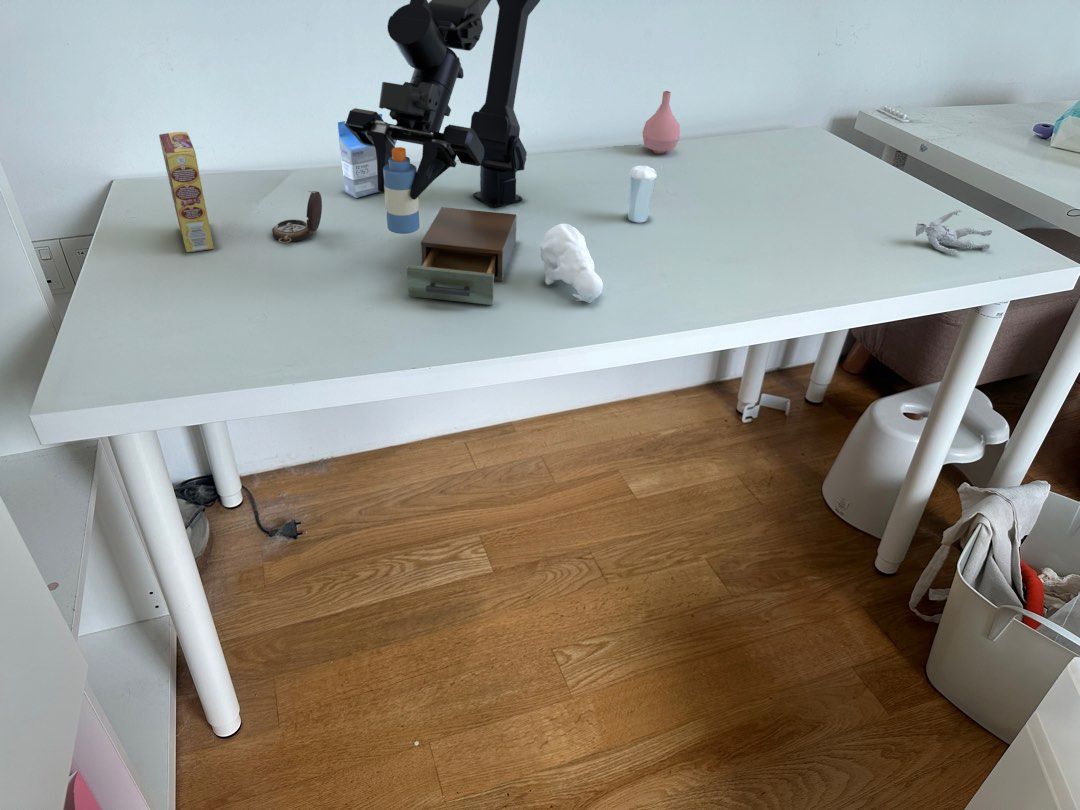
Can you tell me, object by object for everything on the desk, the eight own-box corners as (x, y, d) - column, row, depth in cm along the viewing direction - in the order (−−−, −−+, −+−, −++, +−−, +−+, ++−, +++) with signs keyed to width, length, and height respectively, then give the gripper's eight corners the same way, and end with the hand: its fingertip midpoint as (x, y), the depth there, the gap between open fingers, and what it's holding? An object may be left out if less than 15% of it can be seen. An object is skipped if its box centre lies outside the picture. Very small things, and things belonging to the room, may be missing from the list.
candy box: (216, 249, 121) (195, 150, 111) (186, 253, 119) (162, 153, 110) (208, 226, 127) (187, 130, 118) (180, 230, 125) (156, 133, 116)
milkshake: (654, 226, 135) (662, 169, 129) (622, 222, 135) (629, 165, 129) (656, 216, 138) (664, 159, 132) (626, 212, 139) (632, 156, 133)
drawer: (431, 255, 122) (429, 228, 119) (508, 262, 121) (508, 235, 118) (405, 302, 110) (403, 273, 107) (490, 311, 109) (490, 282, 106)
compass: (278, 225, 128) (271, 181, 124) (327, 227, 128) (322, 184, 124) (263, 246, 122) (255, 201, 118) (314, 249, 122) (308, 204, 118)
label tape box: (355, 199, 138) (348, 128, 131) (343, 191, 140) (336, 121, 133) (398, 188, 143) (394, 119, 135) (386, 181, 145) (381, 112, 138)
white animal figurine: (575, 214, 115) (621, 255, 108) (568, 265, 121) (612, 307, 114) (538, 222, 113) (582, 264, 105) (533, 273, 118) (574, 317, 111)
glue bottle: (383, 223, 112) (377, 145, 105) (414, 218, 113) (410, 142, 106) (392, 236, 108) (386, 157, 102) (423, 231, 110) (420, 153, 103)
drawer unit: (442, 236, 128) (441, 206, 125) (515, 243, 127) (516, 214, 124) (422, 273, 118) (420, 242, 114) (501, 281, 117) (502, 250, 114)
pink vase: (633, 152, 164) (640, 92, 157) (651, 142, 169) (658, 84, 162) (666, 161, 160) (675, 100, 153) (683, 151, 166) (693, 91, 158)
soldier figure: (989, 264, 131) (932, 242, 128) (965, 271, 136) (909, 251, 132) (994, 220, 132) (937, 198, 129) (970, 229, 137) (915, 207, 134)
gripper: (344, 44, 103) (306, 155, 101) (475, 64, 98) (437, 180, 96) (379, 91, 114) (346, 192, 112) (499, 111, 109) (466, 217, 107)
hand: (396, 194), depth 107 cm, fingers closed on glue bottle, 4 cm apart
